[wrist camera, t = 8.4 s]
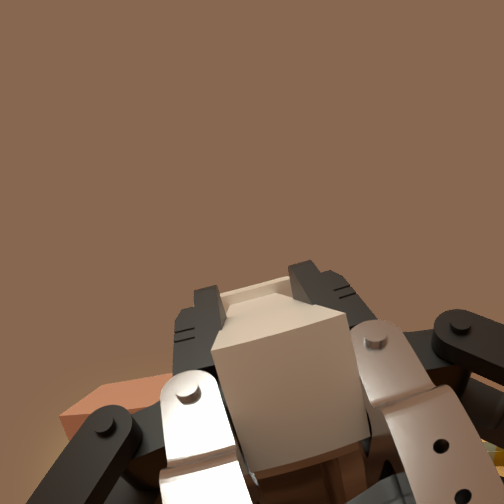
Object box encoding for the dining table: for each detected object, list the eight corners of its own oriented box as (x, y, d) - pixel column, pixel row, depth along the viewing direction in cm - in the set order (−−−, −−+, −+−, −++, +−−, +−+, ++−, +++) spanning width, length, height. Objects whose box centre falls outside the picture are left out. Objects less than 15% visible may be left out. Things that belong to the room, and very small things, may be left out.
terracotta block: (177, 453, 14) (158, 404, 15) (77, 459, 14) (58, 415, 14) (193, 408, 21) (181, 370, 22) (115, 419, 21) (102, 384, 21)
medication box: (460, 467, 36) (461, 451, 36) (465, 457, 38) (466, 441, 38) (523, 466, 27) (526, 449, 27) (526, 456, 28) (529, 438, 29)
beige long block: (446, 434, 5) (422, 258, 6) (178, 515, 5) (108, 343, 5) (296, 325, 25) (284, 276, 25) (222, 345, 25) (209, 296, 25)
